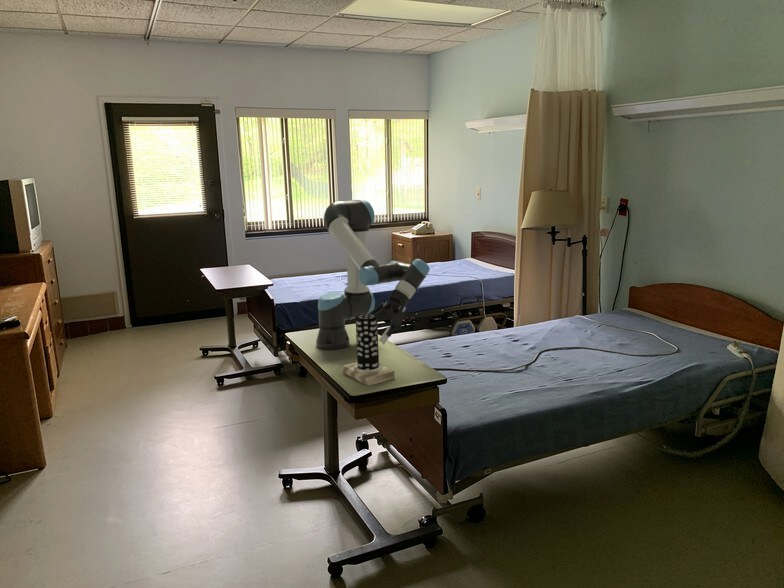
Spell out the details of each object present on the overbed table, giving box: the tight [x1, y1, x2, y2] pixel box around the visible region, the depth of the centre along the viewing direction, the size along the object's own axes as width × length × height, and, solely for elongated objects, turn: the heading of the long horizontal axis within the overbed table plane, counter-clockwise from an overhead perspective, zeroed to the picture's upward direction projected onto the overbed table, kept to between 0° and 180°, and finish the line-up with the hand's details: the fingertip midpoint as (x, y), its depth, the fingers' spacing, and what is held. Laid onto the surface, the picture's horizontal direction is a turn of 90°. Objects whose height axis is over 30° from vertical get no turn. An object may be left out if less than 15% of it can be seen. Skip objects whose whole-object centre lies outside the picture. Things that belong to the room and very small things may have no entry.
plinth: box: [342, 361, 395, 386], centre depth 228 cm, size 18×12×4 cm, turn 35°
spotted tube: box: [355, 314, 380, 370], centre depth 225 cm, size 8×8×20 cm
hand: (371, 338), depth 226 cm, fingers open, 13 cm apart
